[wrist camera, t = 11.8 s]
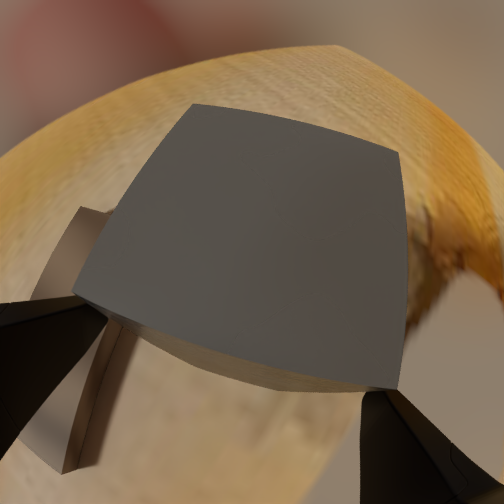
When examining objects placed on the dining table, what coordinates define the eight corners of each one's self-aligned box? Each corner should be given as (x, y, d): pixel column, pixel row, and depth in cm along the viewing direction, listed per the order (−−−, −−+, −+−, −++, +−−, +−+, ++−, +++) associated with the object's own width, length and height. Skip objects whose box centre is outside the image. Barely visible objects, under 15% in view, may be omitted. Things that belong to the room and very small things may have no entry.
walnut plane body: (76, 469, 10) (61, 474, 9) (12, 416, 11) (-5, 414, 9) (160, 242, 19) (153, 227, 17) (90, 220, 19) (80, 206, 18)
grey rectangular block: (277, 390, 14) (396, 389, 3) (195, 366, 15) (70, 291, 4) (297, 313, 17) (398, 152, 5) (221, 292, 17) (193, 103, 6)
